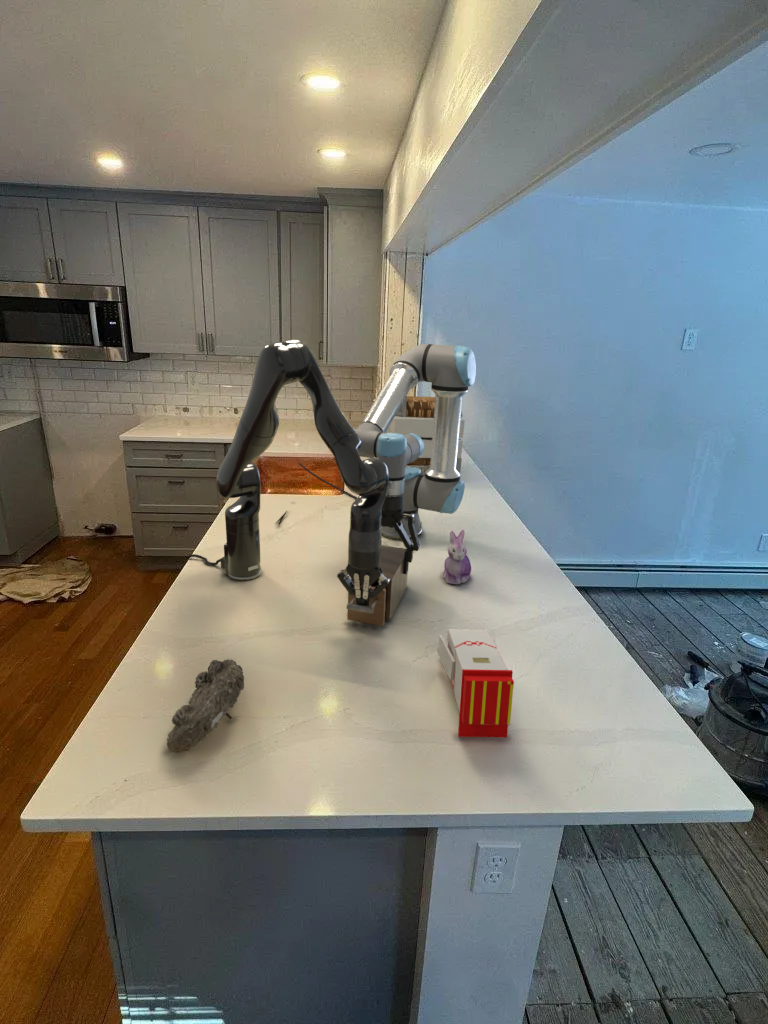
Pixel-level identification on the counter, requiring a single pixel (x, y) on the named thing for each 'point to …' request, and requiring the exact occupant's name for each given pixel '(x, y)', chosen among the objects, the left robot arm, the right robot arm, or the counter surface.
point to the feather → (281, 519)
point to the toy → (478, 682)
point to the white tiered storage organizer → (421, 426)
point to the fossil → (206, 705)
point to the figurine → (457, 560)
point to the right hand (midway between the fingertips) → (386, 569)
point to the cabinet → (393, 576)
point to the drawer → (368, 608)
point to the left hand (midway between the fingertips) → (362, 610)
